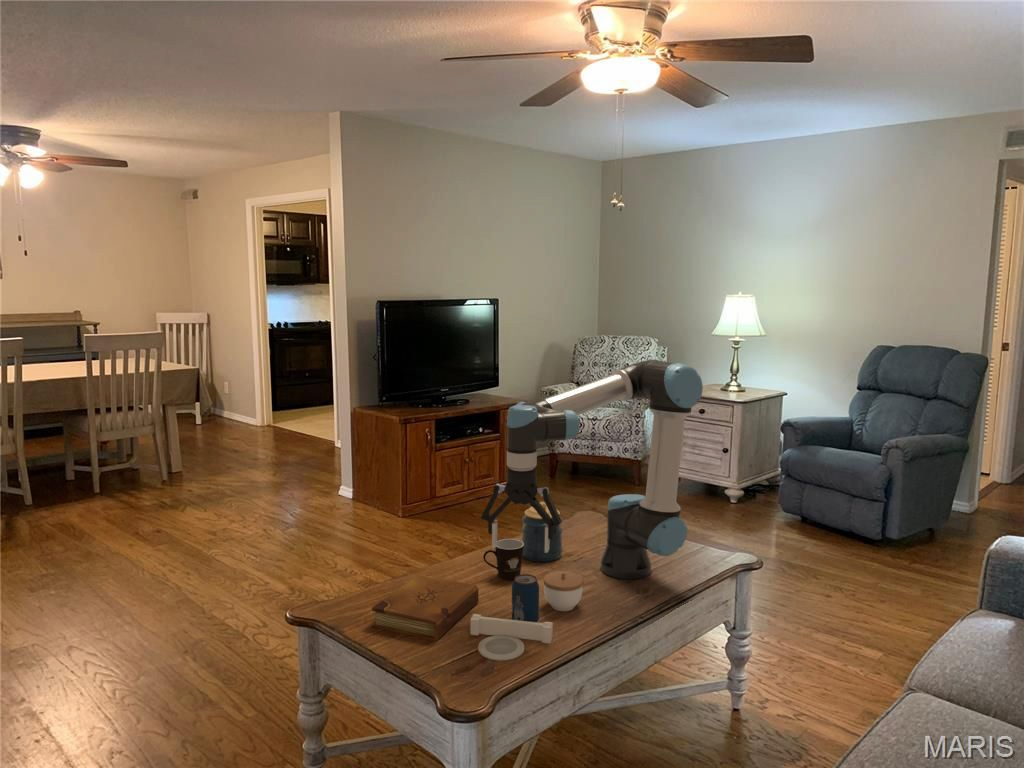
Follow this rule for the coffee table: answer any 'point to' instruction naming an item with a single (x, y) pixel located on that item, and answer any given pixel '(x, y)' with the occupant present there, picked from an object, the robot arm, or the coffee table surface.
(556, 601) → the lidded jar
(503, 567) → the coffee mug
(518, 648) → the coaster
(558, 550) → the canister
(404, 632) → the diary
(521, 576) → the soda can
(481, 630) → the divider
